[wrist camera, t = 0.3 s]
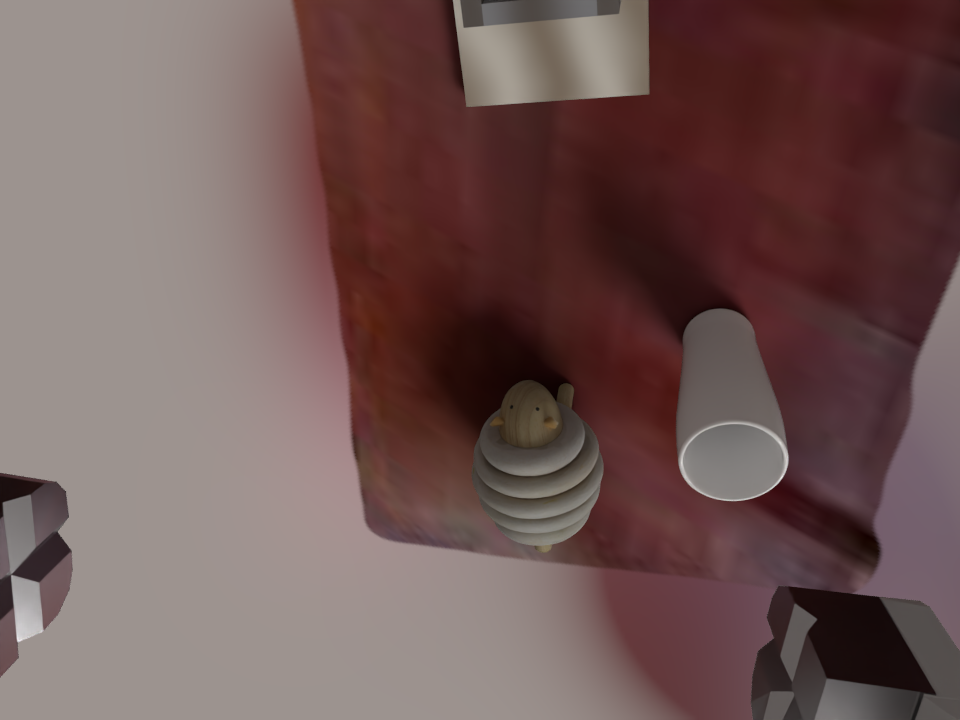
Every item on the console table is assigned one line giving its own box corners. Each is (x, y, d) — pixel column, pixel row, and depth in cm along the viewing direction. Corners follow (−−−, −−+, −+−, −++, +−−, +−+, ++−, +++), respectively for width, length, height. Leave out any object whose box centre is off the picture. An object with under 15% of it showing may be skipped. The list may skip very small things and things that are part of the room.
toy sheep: (594, 341, 67) (584, 427, 58) (618, 499, 76) (613, 595, 67) (466, 351, 69) (437, 435, 60) (504, 502, 78) (484, 596, 69)
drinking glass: (716, 385, 67) (730, 519, 55) (654, 336, 66) (654, 462, 53) (783, 333, 64) (814, 463, 51) (719, 279, 62) (735, 400, 50)
